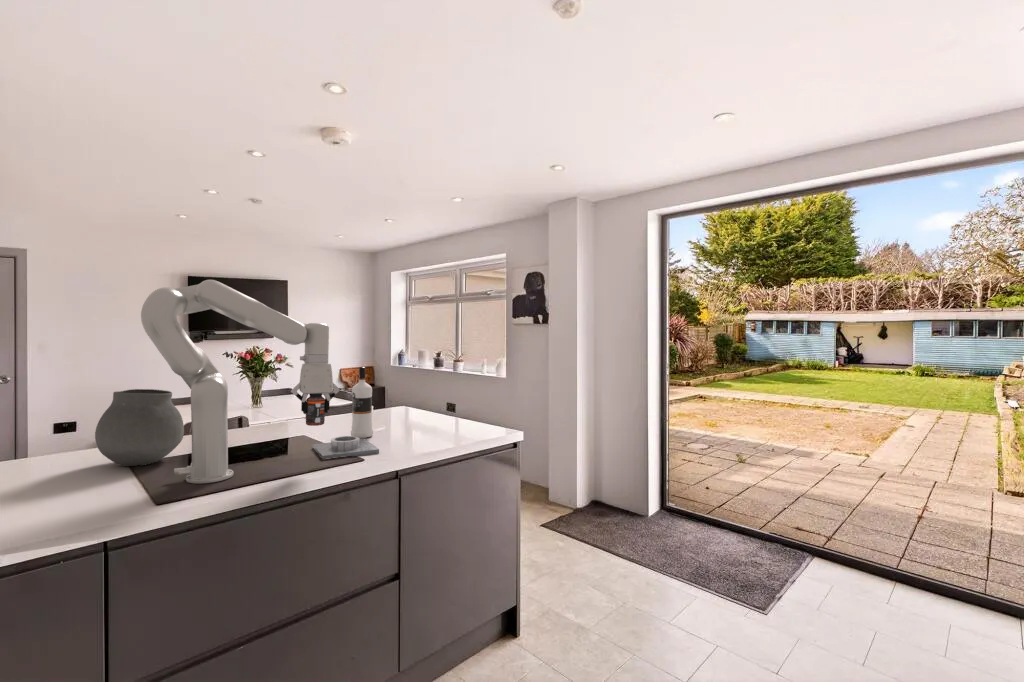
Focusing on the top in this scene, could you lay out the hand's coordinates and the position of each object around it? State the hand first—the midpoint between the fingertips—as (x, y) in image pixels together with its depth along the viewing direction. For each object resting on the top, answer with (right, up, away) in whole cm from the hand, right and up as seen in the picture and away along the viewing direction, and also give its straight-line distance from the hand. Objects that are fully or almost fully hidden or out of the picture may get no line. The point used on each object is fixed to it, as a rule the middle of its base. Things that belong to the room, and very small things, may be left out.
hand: (315, 412), depth 169 cm
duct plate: (+3, -18, +21) cm, 28 cm away
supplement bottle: (0, -4, 0) cm, 4 cm away
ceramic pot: (-60, -18, +2) cm, 63 cm away
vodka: (+2, -17, +46) cm, 49 cm away
